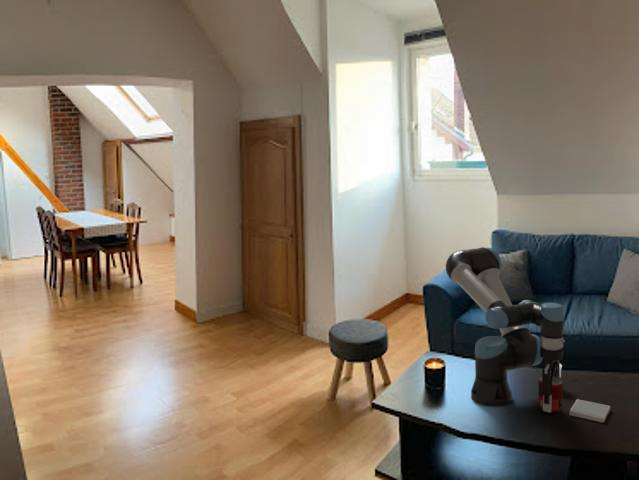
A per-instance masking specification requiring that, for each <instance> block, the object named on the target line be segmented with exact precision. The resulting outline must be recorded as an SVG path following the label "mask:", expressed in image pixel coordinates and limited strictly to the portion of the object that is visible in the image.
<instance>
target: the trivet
mask: <svg viewBox="0 0 639 480" xmlns="http://www.w3.org/2000/svg"><path fill="white" fill-rule="evenodd" d="M610 411H611V406H610V405H606V404H602V403H598V402H594V401H588V400H582V399H578V398H577V399H576V400H575V402H574V403H573V405H572V406H571V408H570V409H569V416H571V417H572V416H573V417H577V418H580V419H585V420H589V421H595V422H598V423H603V424H604V423H605V421H606V419H607V417H608V415H609V413H610Z"/></svg>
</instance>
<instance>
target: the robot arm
mask: <svg viewBox="0 0 639 480" xmlns="http://www.w3.org/2000/svg"><path fill="white" fill-rule="evenodd" d="M501 262H502V260H501V256H500V254H499V253H498V251H497V250H495V249H494V248H493V247H483V246H482V247H477V248H471V249H470V248H468V249H460V250H456V251H453V252H452V253H451V254H450V255H449V256H448V258H447V259H446V262H445V271H446V274H447V277H448V278H449V279H450V280H451V282H453V283H454V284H456V285H458V286H460V288H461V289H463V291H464V292H465V293H466V294H467V295H468V296H469V297H470V298H471V299H472V300H473V301H474V303H476V304H477V305H478V306H479V307H480V308H481V309H482V311H483V312H484V313H485V316H484V317H485V321H486V323H487V326H488V327H489V328H490V329H493V330H494V329H495V330H497V329H499V331H500V334H501V335H488V336H483V337H481V338H479V339H478V340H477V341H476V343H475V347H474V358H475V359H474V363H475V364H474V365H475V379H474V380H473V381H474V382H473V384H472V388H471V391H470V392H471V393H470V396H471V399H472V400H473V401H474V402H475V403H477V404H480V405H481V406H485V407H486V406H488V407H504V406H506V405H509V404H511V403H512V401H513V393H512V390H511V386H510V384H509V381H508V371H513V370H518V369H523V368H531V367H533V366H538V365H539V364H541V363H542V361H543V359H544V360H545V362H544V363H543V367H542V368H541V369H542V371H541V372H542V373H541V374H542V391H541V395H543V409H542V411H543V412H546V413H552V412H551V407H552V395H551V388H552V380H553V377H554V376H555V377H557V376H558V377H560V366H559V363H560V361H561V360H562V359H563V358H564V343H565V342H566V340H565V339H564V335H565V334H564V327H565V310H564V306H563V305H562V304H560V303H556V302H544V303H539V302H537V301H534V300H529V299H523V300H522V301H521V302H519V303H517V304H513V303H512V301H511V298H510V297H509V295H508V293H507V291H506V289H505V287H504V285H503V283H502V281H501V279H500V277H499V276H500V275H501V269H502V263H501ZM530 324H531V325H533V324H534V325H536V326H538V327H540V331H539V332H540V335H539V336H540V337H539V336H538V335H537V334H533V333H532V332H531V331H530V330H529V328H528V327H525V325H530ZM531 333H532V334H531ZM560 378H561V377H560Z"/></svg>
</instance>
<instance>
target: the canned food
mask: <svg viewBox="0 0 639 480" xmlns="http://www.w3.org/2000/svg"><path fill="white" fill-rule="evenodd" d="M542 375H543V374H542ZM542 375H540V376H539V377H538V407H539V408H540V409H542V410H543V395H541V391H542ZM563 393H564V379H563V378H562V377H558V376H557V377H555V376H554V377H553V380H552V388H551V395H552V407H551V413H556V412H560V411H562V409H563V399H564V395H563Z"/></svg>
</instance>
